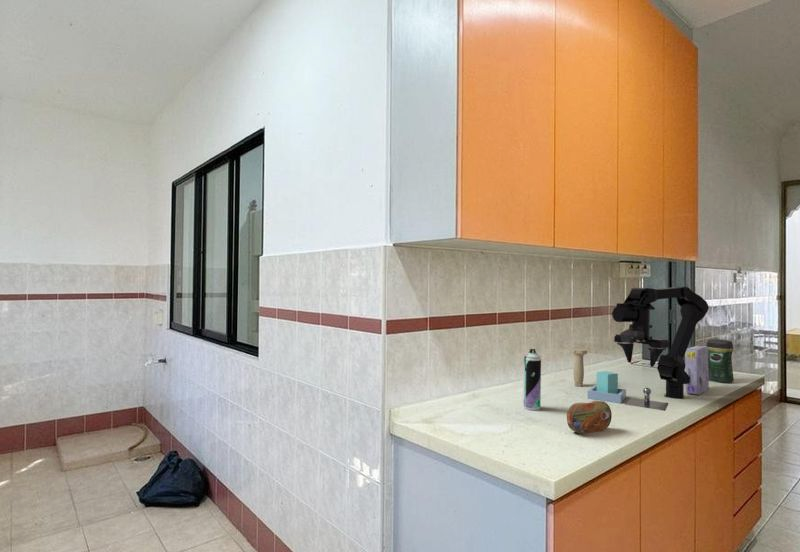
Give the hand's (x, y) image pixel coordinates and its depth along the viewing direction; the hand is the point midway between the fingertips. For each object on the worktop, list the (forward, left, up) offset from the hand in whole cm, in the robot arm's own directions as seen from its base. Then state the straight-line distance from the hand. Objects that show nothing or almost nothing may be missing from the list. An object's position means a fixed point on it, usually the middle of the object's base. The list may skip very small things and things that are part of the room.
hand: (640, 364), depth 167 cm
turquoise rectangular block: (+7, -10, -12) cm, 17 cm away
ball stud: (+7, +3, -13) cm, 15 cm away
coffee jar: (-61, +24, -13) cm, 67 cm away
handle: (-10, -24, -13) cm, 29 cm away
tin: (+49, -7, -13) cm, 51 cm away
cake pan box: (-32, +17, -13) cm, 38 cm away
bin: (+7, -10, -13) cm, 18 cm away
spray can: (+36, -28, -13) cm, 47 cm away
